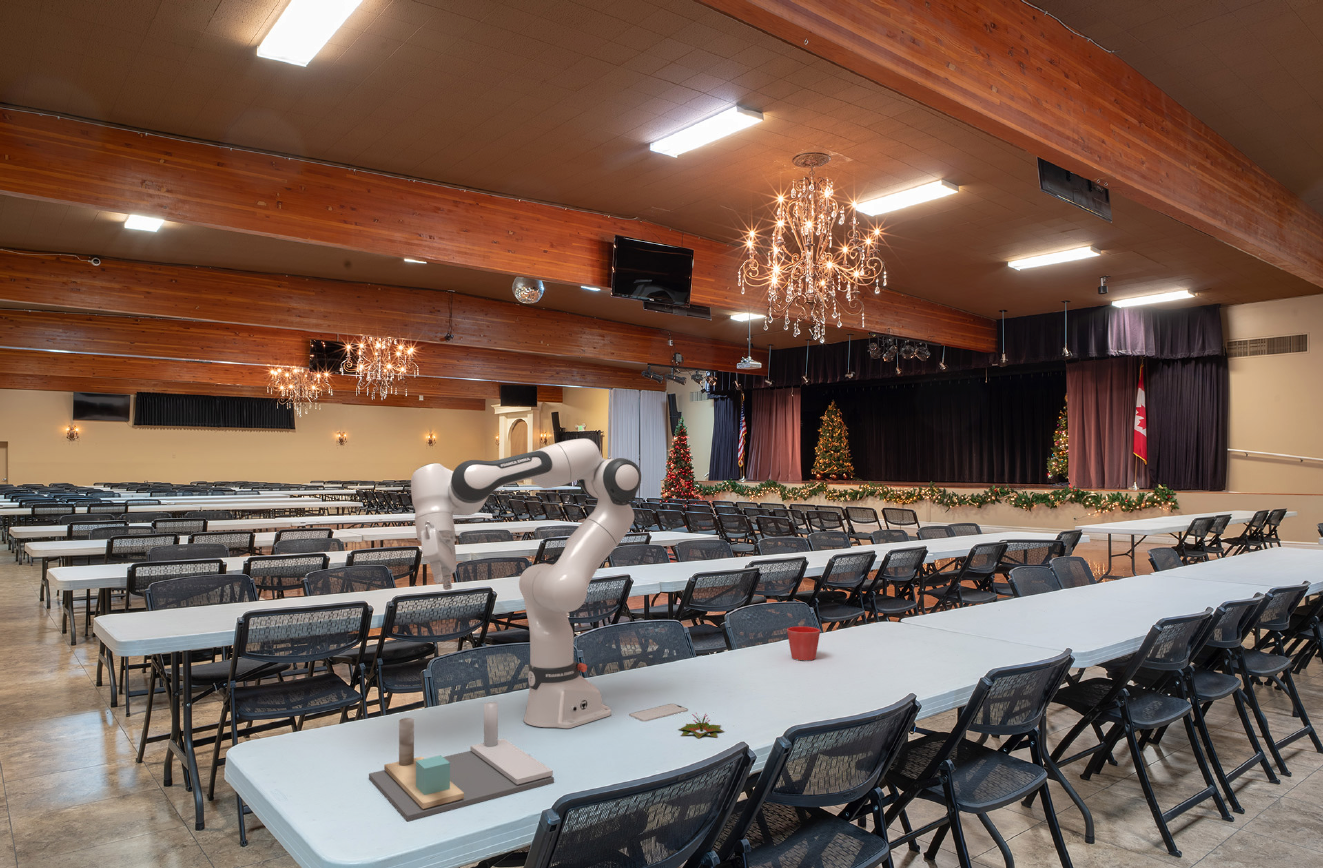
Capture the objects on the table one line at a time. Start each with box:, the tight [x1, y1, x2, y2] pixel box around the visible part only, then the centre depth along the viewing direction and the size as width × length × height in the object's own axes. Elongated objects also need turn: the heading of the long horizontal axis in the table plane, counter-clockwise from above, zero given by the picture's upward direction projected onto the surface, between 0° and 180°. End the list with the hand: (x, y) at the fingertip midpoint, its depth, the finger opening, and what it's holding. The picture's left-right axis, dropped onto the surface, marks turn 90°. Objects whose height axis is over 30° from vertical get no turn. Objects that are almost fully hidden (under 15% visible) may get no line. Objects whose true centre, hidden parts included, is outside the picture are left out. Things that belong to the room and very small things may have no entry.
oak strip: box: [383, 717, 464, 809], centre depth 160 cm, size 8×24×10 cm, turn 35°
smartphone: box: [628, 703, 689, 723], centre depth 209 cm, size 7×1×15 cm
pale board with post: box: [470, 701, 554, 785], centre depth 171 cm, size 8×24×10 cm, turn 36°
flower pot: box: [786, 626, 821, 662], centre depth 267 cm, size 11×11×10 cm
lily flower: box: [677, 712, 726, 740], centre depth 194 cm, size 12×12×5 cm
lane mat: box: [368, 750, 555, 822], centre depth 165 cm, size 30×25×1 cm
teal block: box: [416, 755, 450, 795], centre depth 155 cm, size 5×5×5 cm
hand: (443, 586), depth 186 cm, fingers open, 8 cm apart
